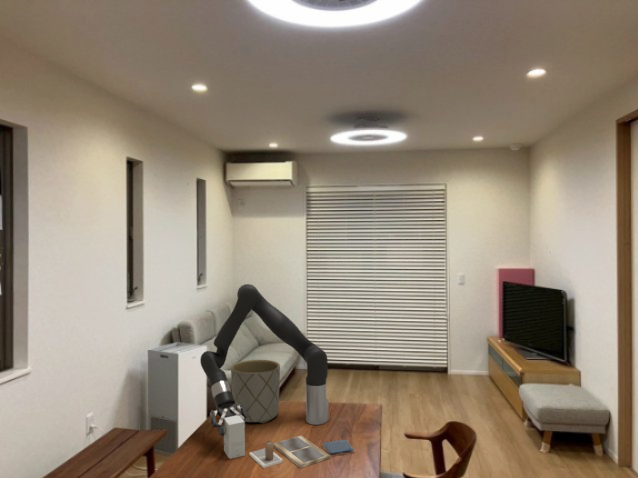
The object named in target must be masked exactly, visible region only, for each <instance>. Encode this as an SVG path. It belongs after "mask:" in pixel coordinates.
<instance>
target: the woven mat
mask: <svg viewBox="0 0 638 478" xmlns="http://www.w3.org/2000/svg"><path fill="white" fill-rule="evenodd" d="M322 447H323V449H324V450H325V451H326V453H327V454H329V455H330V457H335V456H342V455H347V454H354V453H355V449H354V448H353V447H352V445H351V444H350V442H349V441H348V440H347V439H338V440H336V439H335V440H333V441H332V440H331V441H329V440H328V441H323V443H322Z"/></svg>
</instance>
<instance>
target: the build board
mask: <svg viewBox="0 0 638 478" xmlns="http://www.w3.org/2000/svg"><path fill="white" fill-rule="evenodd" d="M274 448H275V449H276V451H278V452H279V453H280V454H282V455H283V456H284V457H285V458H287V459H288V460H289V461H291V463H292V464H294V465H295V466H297V467H298V468H299V469H303V468H305V467H309V466H311V465H315V464H317V463H320V462H323V461H326V460H330V458H331V456H330V455H329V453H327V451H326V452H325V451H324V450H323V449H322V448H320V447H319V446H317V445H316V444H314V443H312V442H311V441H309V439H307V438H305V437H304V436H303V435H298V436H295V437H291V438H288V439H284V440H280V441H276V442H273V449H274Z"/></svg>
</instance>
